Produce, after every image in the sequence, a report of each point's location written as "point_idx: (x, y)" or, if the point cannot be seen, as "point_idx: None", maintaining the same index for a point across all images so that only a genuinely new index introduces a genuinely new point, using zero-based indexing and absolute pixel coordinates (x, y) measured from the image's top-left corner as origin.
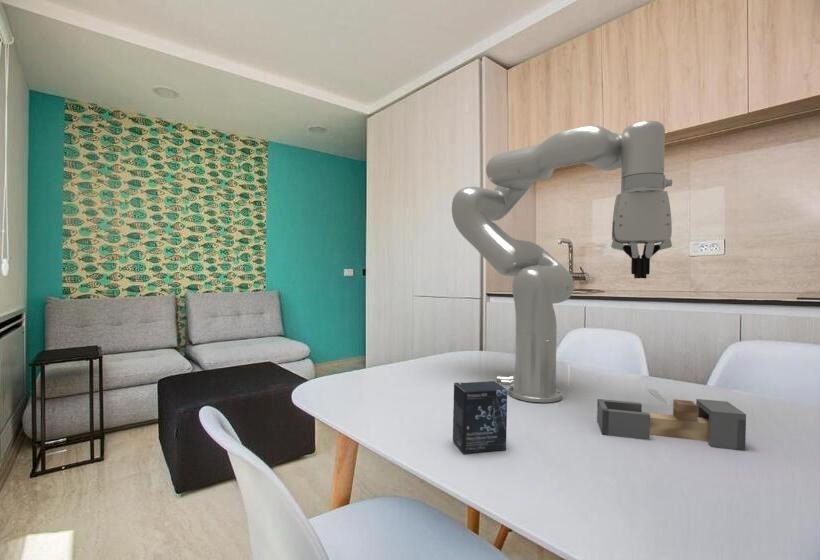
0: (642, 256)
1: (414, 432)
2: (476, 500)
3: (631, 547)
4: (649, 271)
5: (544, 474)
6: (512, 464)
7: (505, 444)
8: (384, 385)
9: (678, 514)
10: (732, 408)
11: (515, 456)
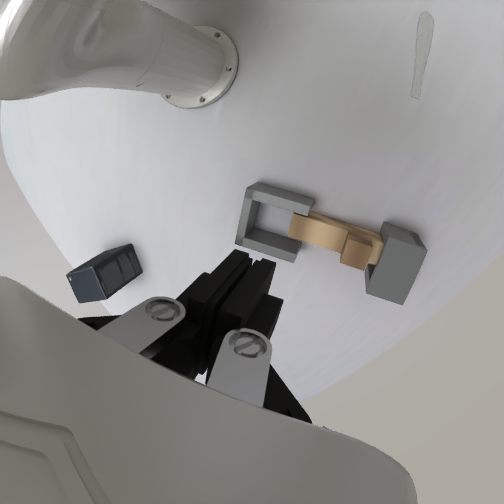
0: (209, 368)
1: (78, 231)
2: None
3: None
4: (270, 337)
5: None
6: (148, 297)
7: (139, 274)
8: None
9: None
10: (406, 282)
11: (150, 284)
